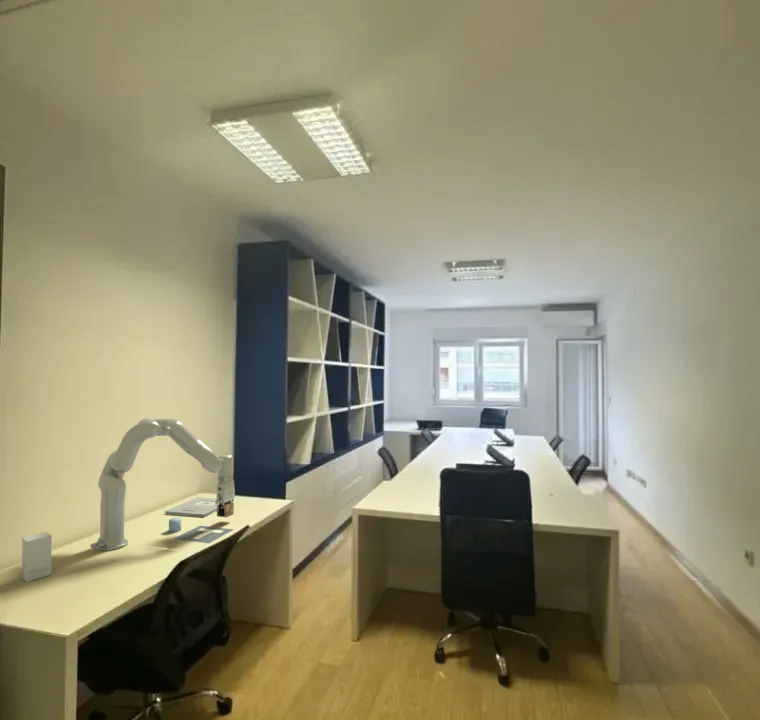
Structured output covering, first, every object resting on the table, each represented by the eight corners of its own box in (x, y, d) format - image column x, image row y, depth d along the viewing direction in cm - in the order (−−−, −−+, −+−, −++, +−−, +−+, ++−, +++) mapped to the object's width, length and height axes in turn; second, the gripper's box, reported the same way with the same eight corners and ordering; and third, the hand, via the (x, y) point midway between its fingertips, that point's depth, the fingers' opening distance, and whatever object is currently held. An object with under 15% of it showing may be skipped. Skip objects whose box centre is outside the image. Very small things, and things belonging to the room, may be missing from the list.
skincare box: (46, 570, 187) (47, 531, 187) (52, 575, 183) (52, 534, 183) (20, 577, 180) (21, 536, 181) (25, 582, 176) (26, 540, 176)
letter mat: (208, 544, 215) (208, 543, 215) (172, 540, 221) (172, 538, 221) (234, 530, 235) (234, 529, 235) (200, 526, 240) (200, 525, 240)
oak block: (226, 517, 242) (226, 505, 242) (216, 516, 243) (216, 504, 244) (233, 514, 248) (233, 502, 248) (223, 513, 249) (223, 501, 249)
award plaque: (164, 515, 261) (164, 511, 261) (197, 500, 290) (197, 497, 290) (204, 518, 256) (204, 514, 256) (233, 503, 285) (233, 499, 285)
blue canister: (175, 534, 229) (175, 521, 229) (166, 533, 231) (166, 520, 231) (183, 530, 235) (183, 518, 235) (174, 529, 236) (174, 517, 236)
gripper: (221, 483, 237) (221, 519, 236) (241, 475, 253) (240, 509, 253) (208, 482, 239) (208, 518, 238) (229, 475, 255) (228, 508, 255)
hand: (225, 513), depth 246 cm, fingers closed on oak block, 6 cm apart
